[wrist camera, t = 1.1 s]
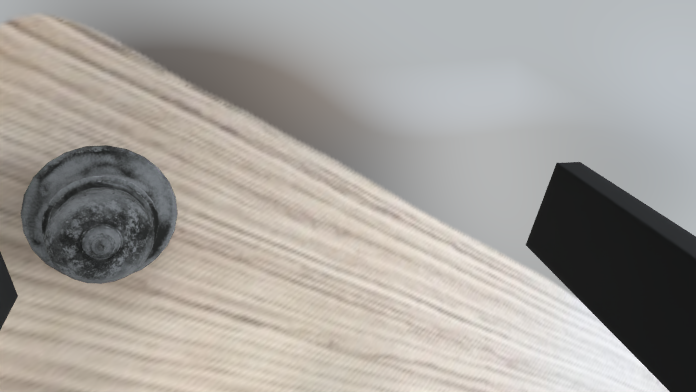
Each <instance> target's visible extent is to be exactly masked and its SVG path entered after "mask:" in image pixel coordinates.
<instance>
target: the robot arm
mask: <svg viewBox="0 0 696 392" xmlns="http://www.w3.org/2000/svg"><path fill="white" fill-rule="evenodd" d="M526 246H527V247H528V248H529V249H530V250H531V251H532V252H533V253H534V254H535V255H536V256H537V257H538V258H539V259H540V260H541V261H542V262H543V263H544V264H545V265H546V266H547V267H548V268H549V269H550V270H551V271H552V272H553V273H554V274H555V275H556V276H557V277H558V278H559V279H560V280H561V281H562V282H563V283H564V284H565V285H566V286H567V287H568V288H569V289H570V290H571V291H572V292H573V293H574V295H575V296H576V297H577V298H578V299H579V300H580V301H581V302H582V303H583V304H584V305H585V306H586V307H587V308H588V309H589V310H590V311H591V312H592V313H593V314H594V315H595V316H596V317H597V318H598V319H599V320H600V321H601V322H602V323H603V324H604V325H605V326H606V327H607V328H608V329H609V330H610V331H611V332H612V333H613V334H614V335H615V336H616V337H617V338H618V339H619V340H620V341H621V342H622V343H623V344H624V345H625V346H626V347H627V348H628V349H629V350H630V351H631V353H632V354H633V355H634V356H635V357H636V358H637V359H638V360H639V361H640V362H641V363H642V364H643V365H644V366H645V367H646V368H647V369H648V370H649V371H650V372H651V373H652V374H653V375H654V376H655V377H656V378H657V379H658V380H659V381H660V382H661V383H662V384H663V385H664V386H665V387H666V388H667V389H668V390H669V391H670V392H696V237H695V236H694V235H692V234H691V233H689V232H688V231H686V230H684V229H683V228H681V227H680V226H678V225H677V224H675V223H674V222H672V221H670V220H669V219H667V218H666V217H664V216H663V215H661V214H660V213H658V212H657V211H655V210H653V209H652V208H650V207H649V206H647V205H646V204H644V203H643V202H641V201H639V200H638V199H636V198H635V197H633V196H632V195H630V194H629V193H627V192H626V191H624V190H622V189H621V188H619V187H617V186H616V185H615V184H613V183H612V182H610V181H608V180H607V179H605V178H604V177H602V176H601V175H599V174H597V173H596V172H594V171H593V170H591V169H590V168H588V167H587V166H585V165H584V164H582V163H580V162H573V163H557V164H556V166H555V169H554V172H553V174H552V177H551V180H550V182H549V185H548V188H547V190H546V193H545V196H544V198H543V201H542V204H541V206H540V209H539V211H538V214H537V217H536V220H535V222H534V225H533V227H532V230H531V233H530V235H529V238H528V241H527V243H526ZM17 297H18V295H17V293H16V290H15V288H14V285H13V282H12V280H11V277H10V275H9V272H8V270H7V267H6V265H5V262H4V260H3V257H2V255H1V252H0V329H1V328H2V326H3V324H4V322H5V320H6V318H7V316H8V314H9V312H10V310H11V308H12V306H13V304H14V303H15V301H16V299H17Z"/></svg>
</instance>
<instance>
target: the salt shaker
mask: <svg viewBox="0 0 696 392" xmlns="http://www.w3.org/2000/svg"><path fill="white" fill-rule="evenodd" d="M21 218H22V225H23V231H24V234H25V236H26V238H27V240H28V242H29V244H30V246H31V248H32V250H33V251H34V252H35V253H36V254H37V255H38V256H39V257H40V258H41V259H42V260H43V261H44V262H45V263H46V264H47V265H49V266H51V267H52V268H54V269H56V270H57V271H59V272H61V273H63V274H65V275H67V276H69V277H71V278H73V279H75V280H78V281H82V282H86V283H100V284H101V283H107V282H113V281H116V280H119V279H121V278H124V277H126V276H128V275H130V274H132V273H134V272H137V271H139V270H141V269H143V268H144V267H145V266H147V265H148V264H150V263H151V262H152V261H154V260H155V259H156V258H157V257H158V256H159V255H160V253H161V252H162V251H163V250H164V249H165V247H166V246H167V245H168V243H169V241H170V239H171V236H172V234H173V232H174V230H175V225H176V219H177V206H176V197H175V195H174V192H173V190H172V187H171V185H170V183H169V181H168V180H167V178H166V177H165V176H164V175H163V173H162V172H161V171H160V169H159V168H158V167H156V166H155V165H154V164H153V163H151V162H150V161H149V160H147V159H146V158H145V157H143V156H141V155H138V154H136V153H134V152H132V151H129V150H127V149H122V148H117V147H112V146H87V147H83V148H79V149H76V150H72V151H69V152H66V153H64V154H62V155H60V156H59V157H57V158H55V159H53V160H52V161H50V162H48V163H47V164H46V165H45V166H44V167H43V168H42V169H41V170H40V171H39V172H38V173H37V174H36V175H35V176H34V177H33V179H32V181H31V183H30V185H29V187H28V188H27V190H26V192H25V194H24V199H23V204H22V210H21Z"/></svg>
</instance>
